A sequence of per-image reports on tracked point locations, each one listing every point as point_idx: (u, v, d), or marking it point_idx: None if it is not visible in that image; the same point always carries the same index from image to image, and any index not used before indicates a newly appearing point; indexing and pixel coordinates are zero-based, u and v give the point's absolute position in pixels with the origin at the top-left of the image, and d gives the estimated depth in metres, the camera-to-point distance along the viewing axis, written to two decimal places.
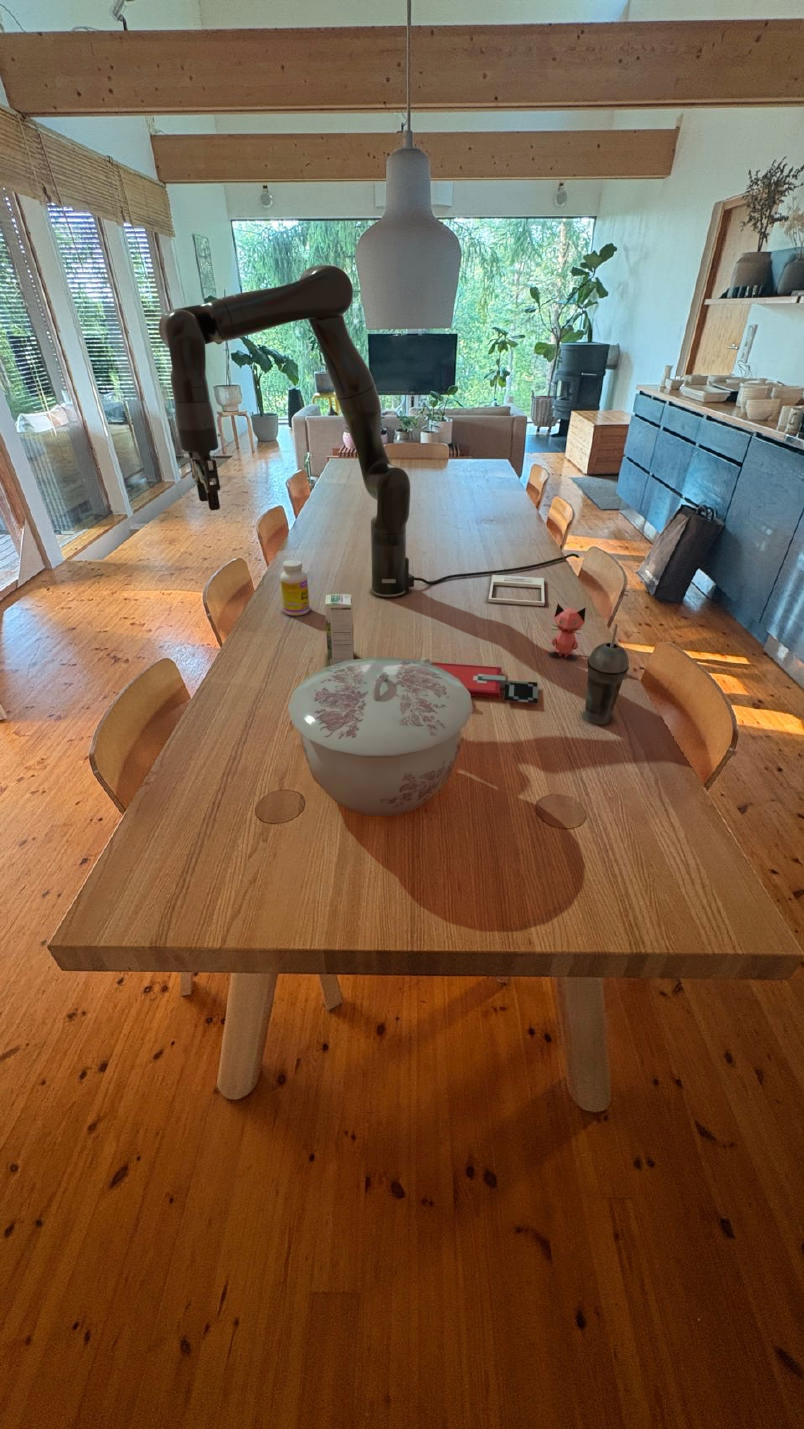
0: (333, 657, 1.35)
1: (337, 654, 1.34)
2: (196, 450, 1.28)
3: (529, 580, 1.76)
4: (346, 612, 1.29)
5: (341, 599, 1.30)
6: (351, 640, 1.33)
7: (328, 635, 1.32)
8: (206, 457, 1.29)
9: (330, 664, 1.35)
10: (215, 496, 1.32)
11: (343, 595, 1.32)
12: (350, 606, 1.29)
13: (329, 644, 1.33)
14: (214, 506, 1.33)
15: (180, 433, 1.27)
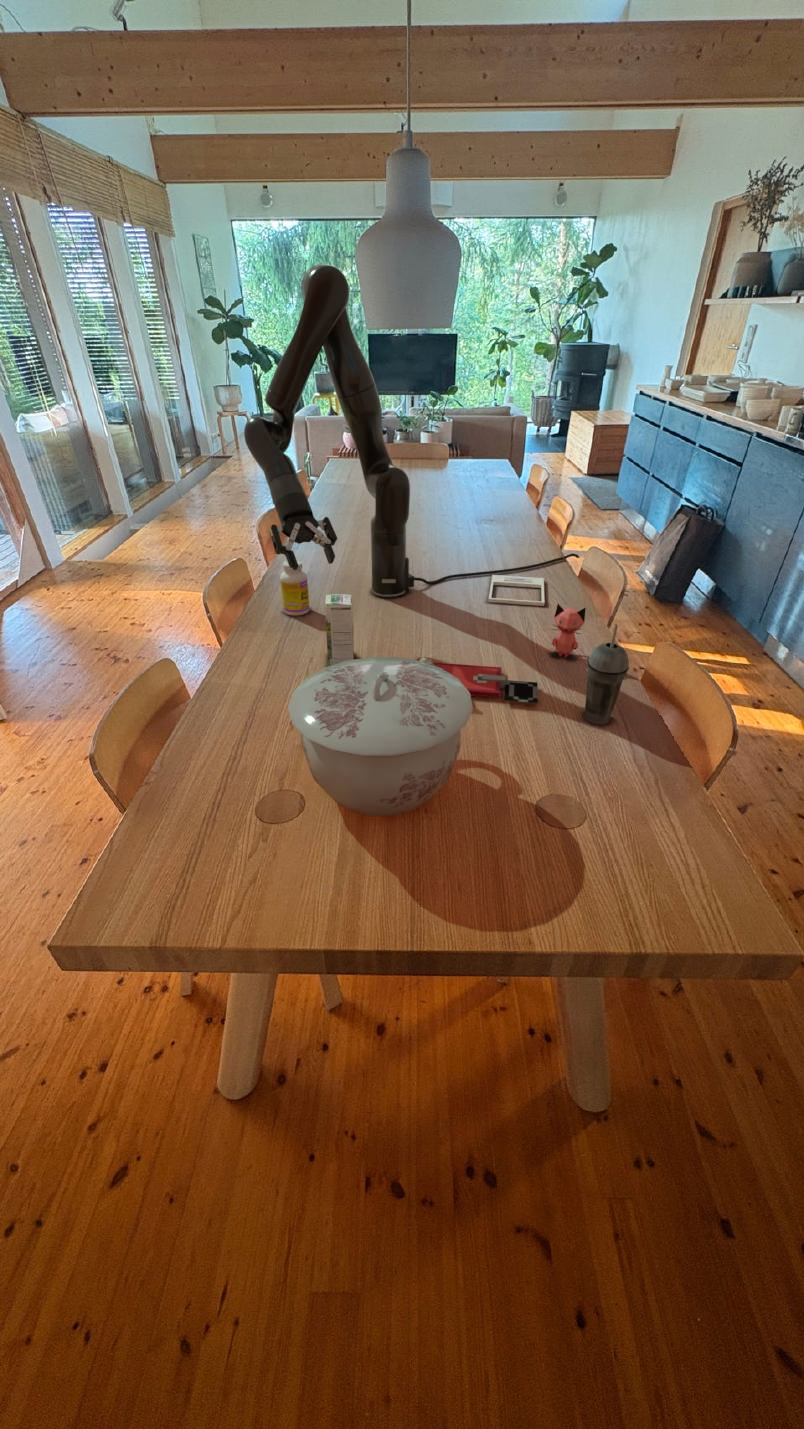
0: (333, 657, 1.35)
1: (337, 654, 1.34)
2: None
3: (529, 580, 1.76)
4: (346, 612, 1.29)
5: (341, 599, 1.30)
6: (351, 641, 1.33)
7: (328, 635, 1.32)
8: None
9: (330, 664, 1.35)
10: (287, 556, 1.36)
11: (343, 595, 1.32)
12: (350, 606, 1.29)
13: (329, 644, 1.33)
14: (290, 565, 1.36)
15: None
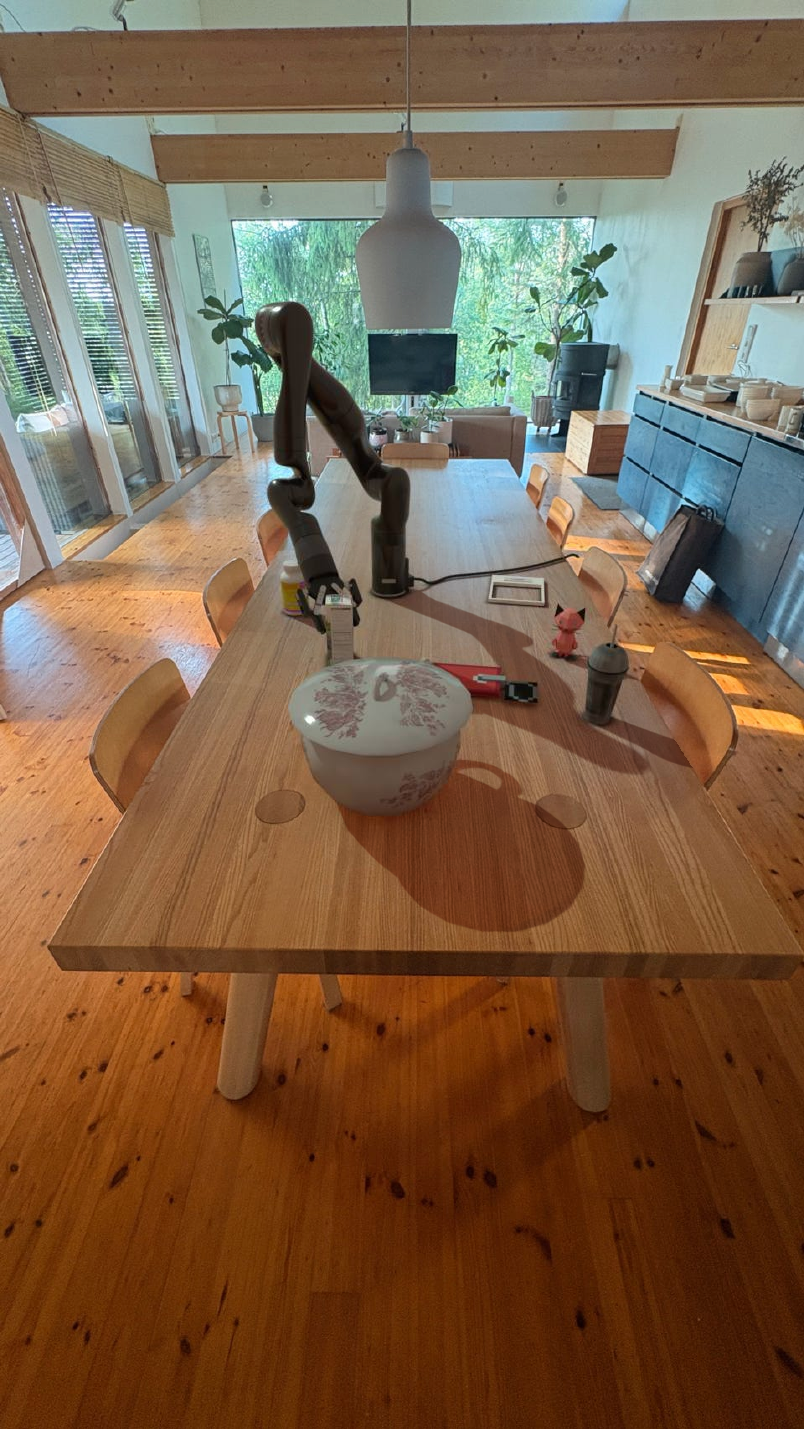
0: (333, 657, 1.35)
1: (337, 654, 1.34)
2: None
3: (529, 580, 1.76)
4: (346, 612, 1.29)
5: (341, 599, 1.30)
6: (351, 641, 1.33)
7: (328, 635, 1.32)
8: (308, 587, 1.34)
9: (330, 664, 1.35)
10: (315, 620, 1.32)
11: (343, 595, 1.32)
12: (350, 606, 1.29)
13: (329, 644, 1.33)
14: (318, 630, 1.32)
15: None
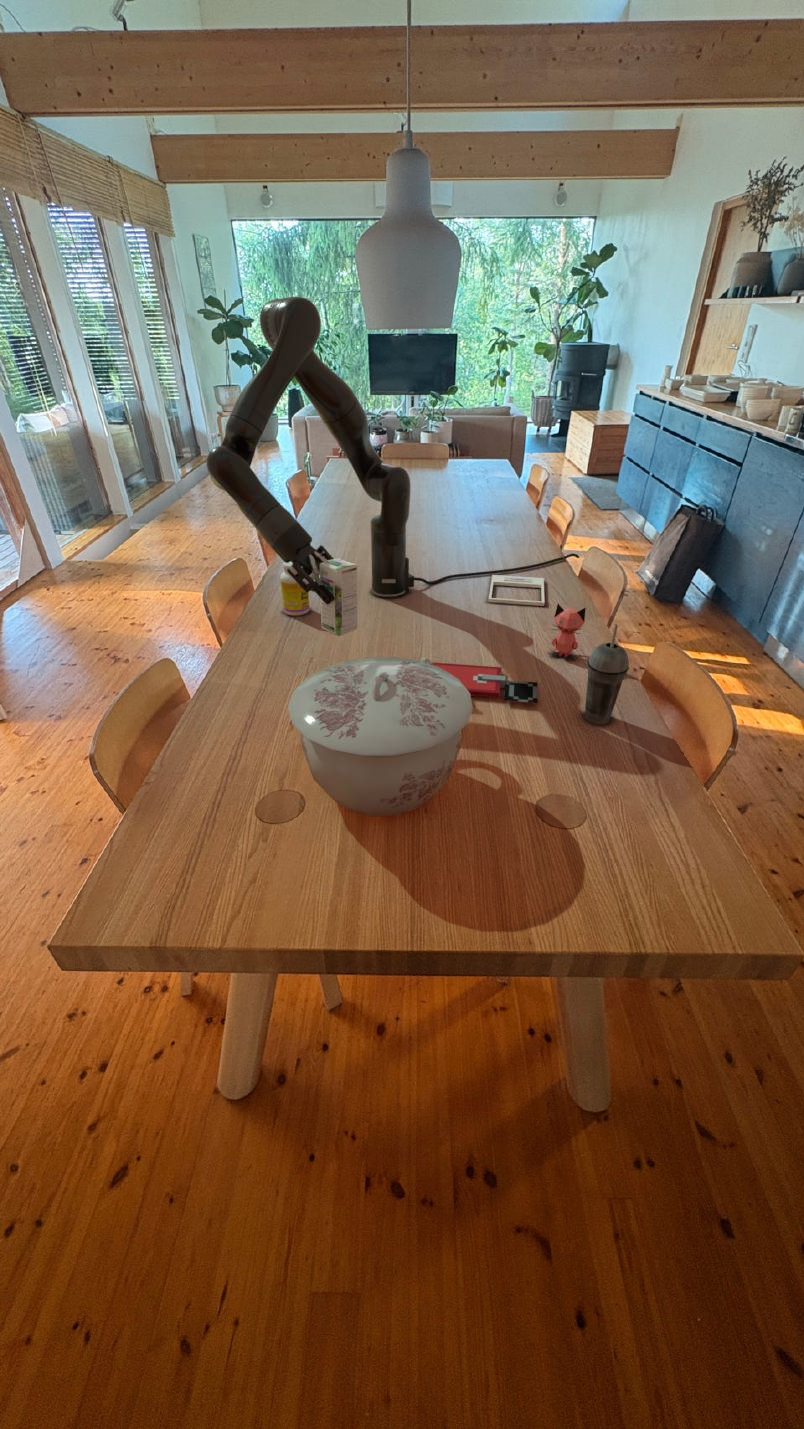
0: (343, 625, 1.30)
1: (346, 620, 1.30)
2: (286, 559, 1.26)
3: (529, 580, 1.76)
4: (353, 573, 1.27)
5: (340, 562, 1.27)
6: (356, 603, 1.31)
7: (339, 602, 1.27)
8: (295, 560, 1.25)
9: (340, 633, 1.30)
10: (320, 591, 1.25)
11: (335, 560, 1.28)
12: (356, 566, 1.27)
13: (340, 611, 1.28)
14: (325, 600, 1.26)
15: None
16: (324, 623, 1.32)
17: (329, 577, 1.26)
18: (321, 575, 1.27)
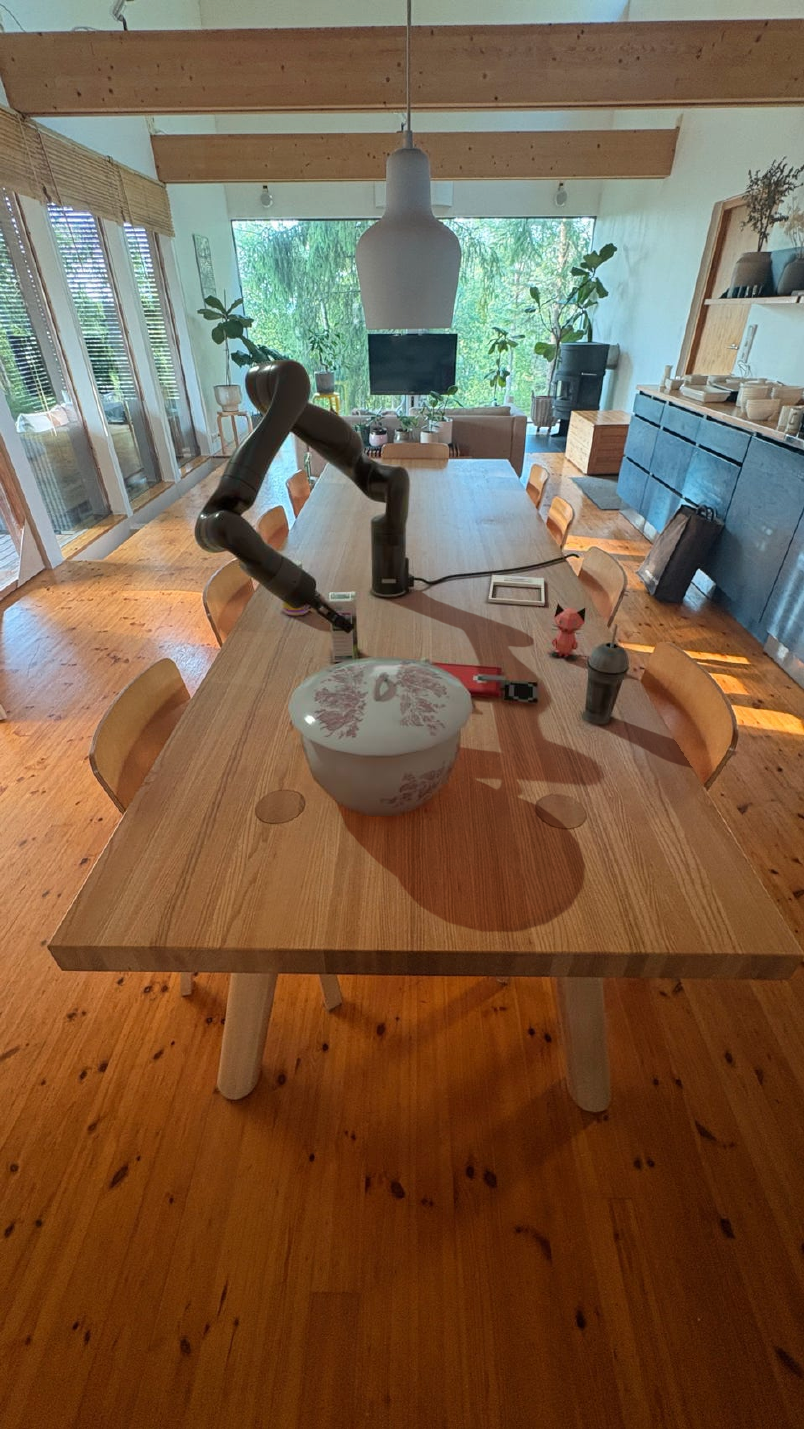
0: None
1: None
2: (304, 604, 1.25)
3: (529, 580, 1.76)
4: None
5: (342, 594, 1.33)
6: None
7: None
8: (315, 601, 1.26)
9: None
10: (344, 622, 1.29)
11: (332, 594, 1.33)
12: None
13: (357, 638, 1.35)
14: (349, 629, 1.31)
15: (282, 600, 1.25)
16: (338, 655, 1.36)
17: (343, 611, 1.31)
18: None
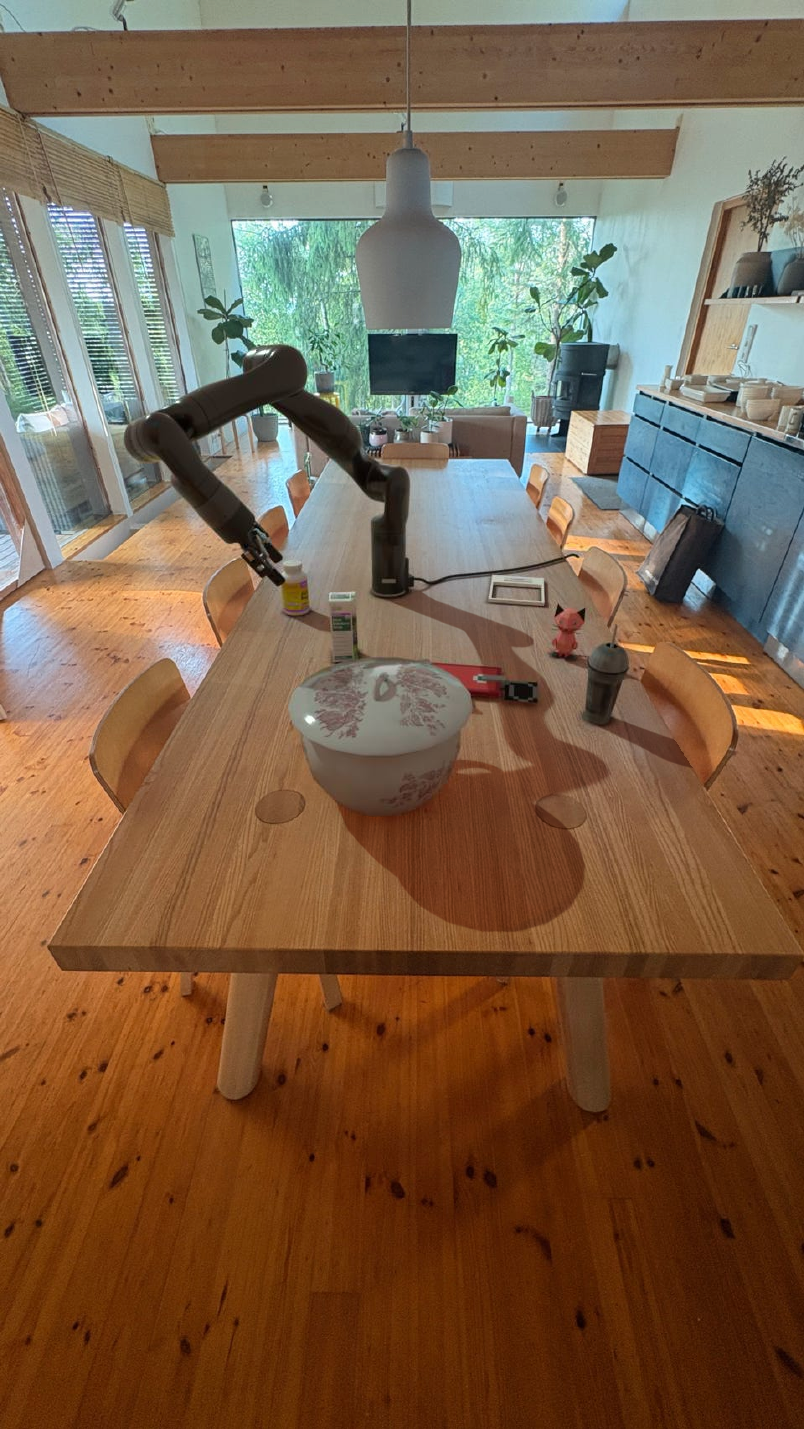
0: None
1: None
2: (233, 542, 1.16)
3: (529, 580, 1.76)
4: None
5: (342, 594, 1.33)
6: None
7: None
8: (245, 543, 1.16)
9: None
10: (273, 575, 1.20)
11: (332, 594, 1.33)
12: (354, 593, 1.34)
13: (357, 638, 1.35)
14: (278, 583, 1.21)
15: (213, 529, 1.16)
16: (338, 655, 1.36)
17: (343, 611, 1.31)
18: (332, 612, 1.31)
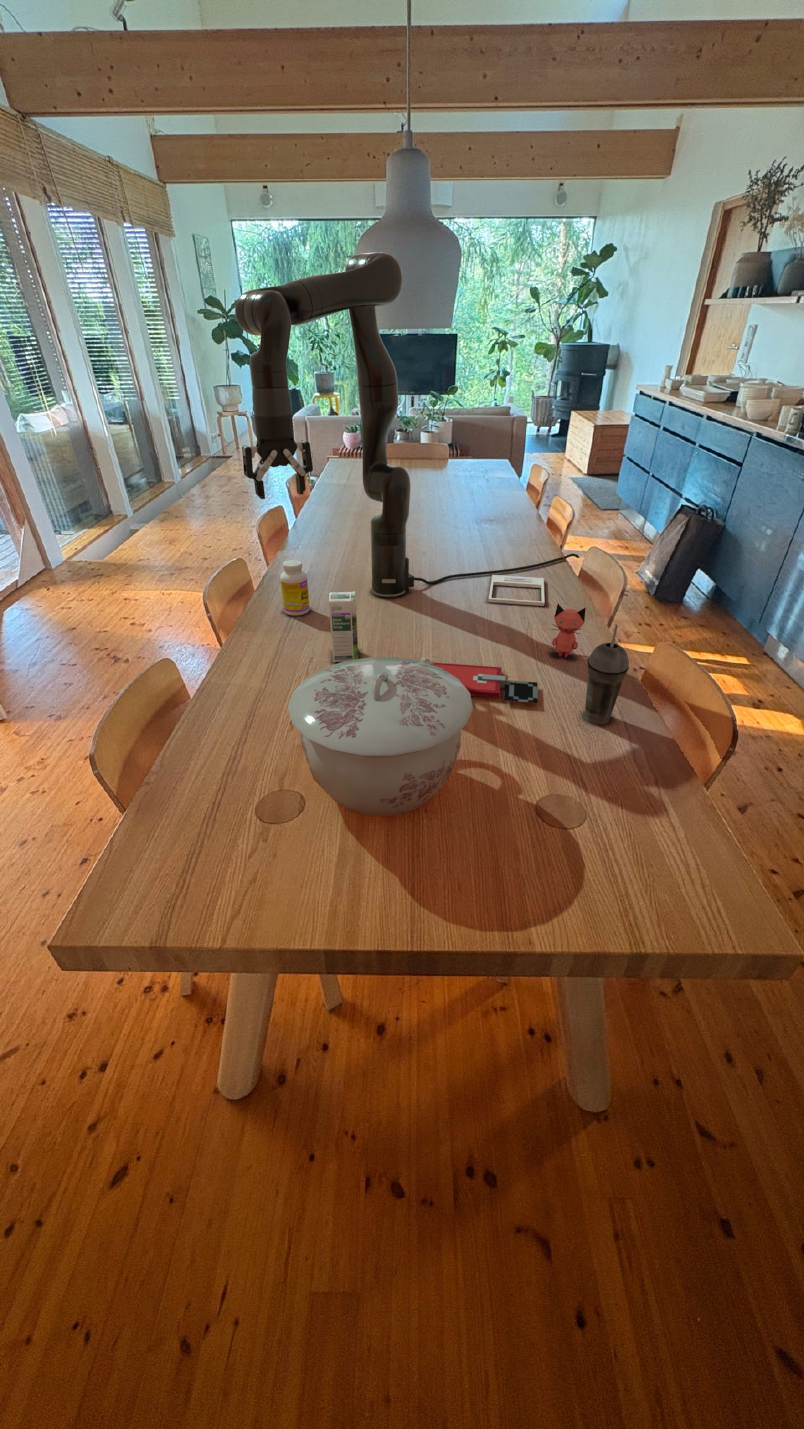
0: None
1: None
2: None
3: (529, 580, 1.76)
4: None
5: (342, 594, 1.33)
6: None
7: None
8: None
9: None
10: (256, 484, 1.28)
11: (332, 594, 1.33)
12: (354, 593, 1.34)
13: (357, 638, 1.35)
14: (256, 494, 1.30)
15: None
16: (338, 655, 1.36)
17: (343, 611, 1.31)
18: (332, 612, 1.31)
